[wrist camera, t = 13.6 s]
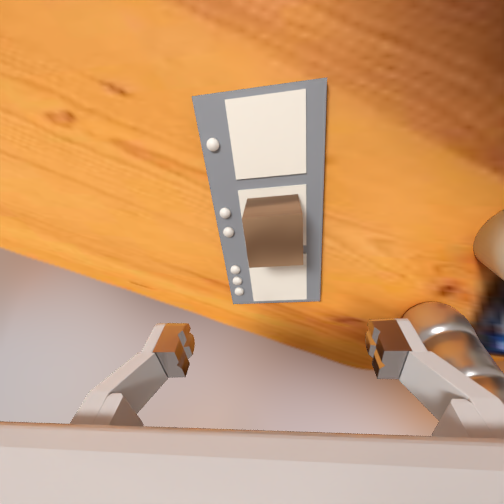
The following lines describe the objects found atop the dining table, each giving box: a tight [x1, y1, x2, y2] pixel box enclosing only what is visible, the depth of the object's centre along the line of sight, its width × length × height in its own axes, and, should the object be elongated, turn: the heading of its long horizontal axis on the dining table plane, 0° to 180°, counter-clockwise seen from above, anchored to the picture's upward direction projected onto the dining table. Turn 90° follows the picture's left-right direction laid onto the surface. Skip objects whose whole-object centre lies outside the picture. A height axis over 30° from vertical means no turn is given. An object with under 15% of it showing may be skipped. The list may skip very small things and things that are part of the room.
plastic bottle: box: [403, 302, 504, 404], centre depth 21 cm, size 6×7×20 cm
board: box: [192, 78, 327, 304], centre depth 24 cm, size 21×10×1 cm, turn 7°
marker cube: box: [242, 194, 303, 268], centre depth 22 cm, size 4×4×4 cm
